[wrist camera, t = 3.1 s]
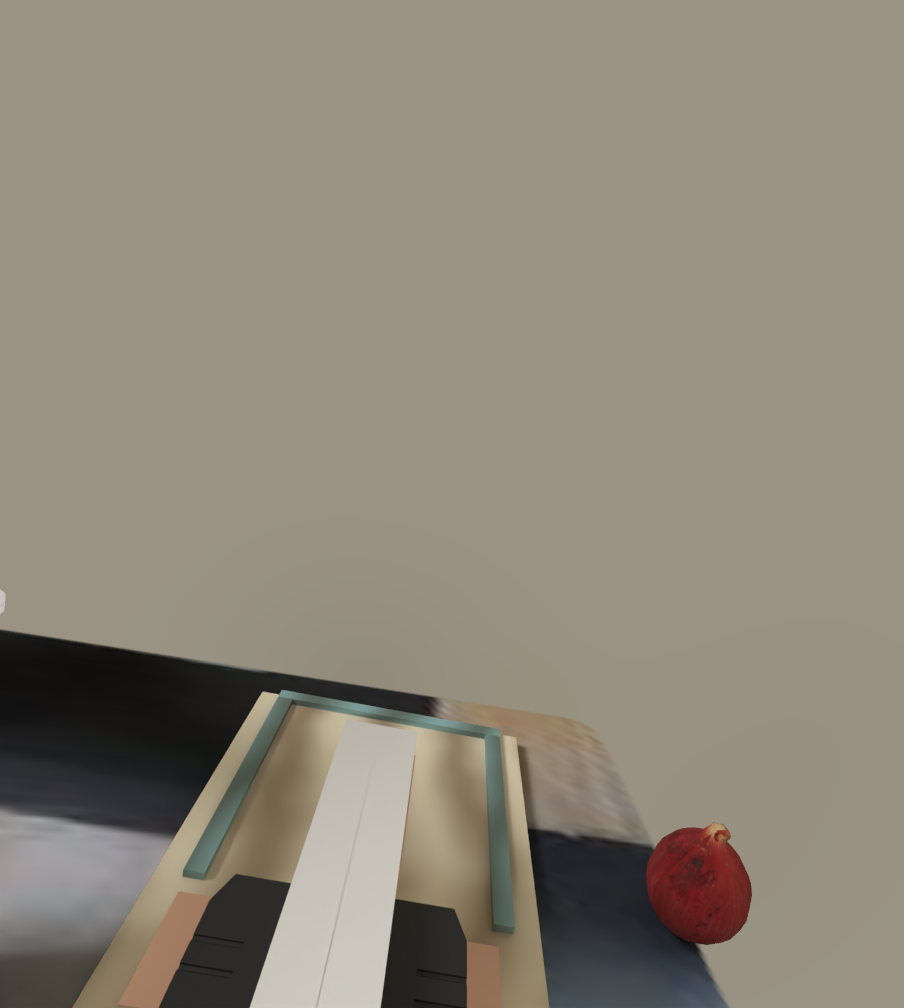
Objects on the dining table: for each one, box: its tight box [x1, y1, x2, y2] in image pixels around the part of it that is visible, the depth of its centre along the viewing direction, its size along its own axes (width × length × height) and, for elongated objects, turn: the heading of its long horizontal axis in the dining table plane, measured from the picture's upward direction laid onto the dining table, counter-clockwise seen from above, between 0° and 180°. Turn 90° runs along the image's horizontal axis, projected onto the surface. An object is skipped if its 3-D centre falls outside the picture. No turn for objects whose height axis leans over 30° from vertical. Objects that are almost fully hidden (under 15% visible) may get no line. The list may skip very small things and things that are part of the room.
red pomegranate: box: [646, 822, 752, 945], centre depth 37 cm, size 6×6×8 cm
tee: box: [118, 755, 502, 1008], centre depth 27 cm, size 12×14×10 cm
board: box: [72, 690, 549, 1008], centre depth 35 cm, size 22×36×2 cm, turn 178°
